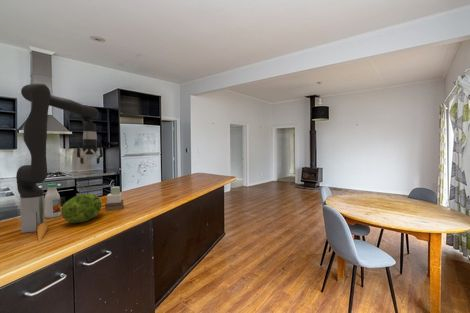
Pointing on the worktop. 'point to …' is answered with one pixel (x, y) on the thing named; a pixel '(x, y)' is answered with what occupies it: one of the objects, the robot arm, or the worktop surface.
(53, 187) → the milk bottle
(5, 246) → the worktop surface
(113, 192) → the cube
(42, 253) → the worktop surface
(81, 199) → the lettuce
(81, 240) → the worktop surface
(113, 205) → the base block
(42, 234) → the carrot
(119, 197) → the top block
